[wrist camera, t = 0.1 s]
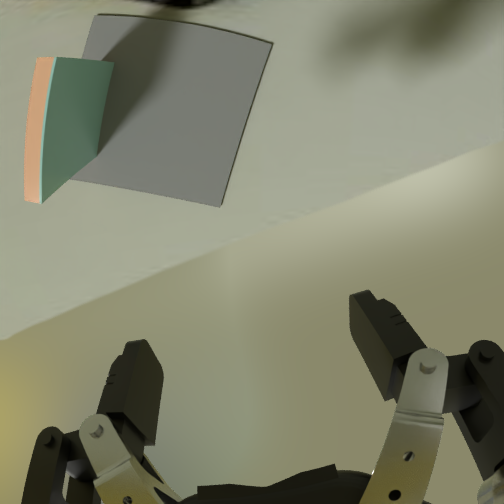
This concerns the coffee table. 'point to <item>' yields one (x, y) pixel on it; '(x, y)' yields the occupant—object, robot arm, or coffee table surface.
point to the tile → (63, 121)
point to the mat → (171, 105)
